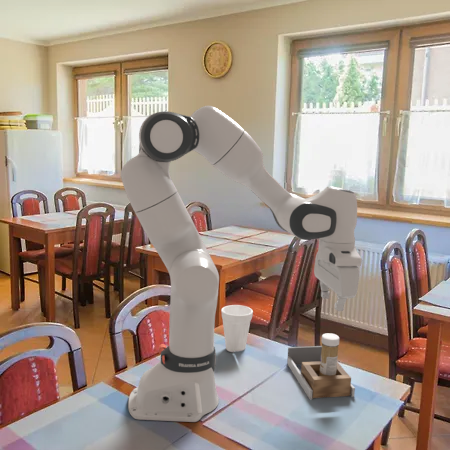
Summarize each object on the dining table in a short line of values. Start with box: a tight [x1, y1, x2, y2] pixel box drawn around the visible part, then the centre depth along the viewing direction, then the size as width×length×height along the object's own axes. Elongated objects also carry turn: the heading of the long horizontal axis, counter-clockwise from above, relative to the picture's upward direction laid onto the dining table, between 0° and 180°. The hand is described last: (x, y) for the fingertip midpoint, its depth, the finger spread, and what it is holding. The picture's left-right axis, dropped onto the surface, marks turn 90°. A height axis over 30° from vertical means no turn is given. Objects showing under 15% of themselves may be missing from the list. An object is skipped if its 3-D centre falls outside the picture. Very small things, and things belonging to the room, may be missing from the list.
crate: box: [300, 361, 352, 399], centre depth 129 cm, size 10×10×5 cm
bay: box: [286, 345, 356, 401], centre depth 133 cm, size 12×20×6 cm, turn 9°
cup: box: [220, 304, 254, 353], centre depth 152 cm, size 10×10×13 cm
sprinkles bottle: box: [320, 332, 340, 376], centre depth 128 cm, size 5×5×14 cm
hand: (331, 303), depth 124 cm, fingers open, 8 cm apart
